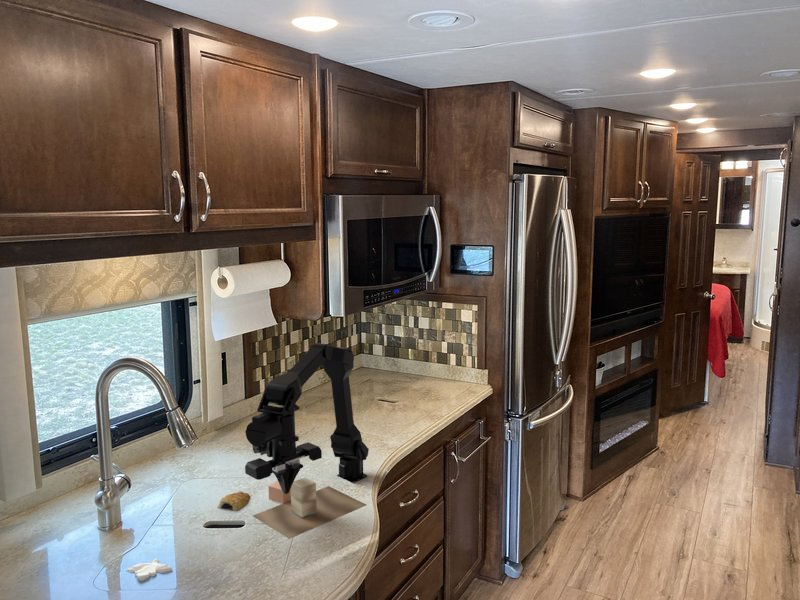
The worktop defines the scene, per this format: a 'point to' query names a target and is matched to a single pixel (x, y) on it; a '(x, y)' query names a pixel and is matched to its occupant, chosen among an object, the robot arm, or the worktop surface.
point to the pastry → (234, 501)
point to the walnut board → (328, 509)
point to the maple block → (303, 498)
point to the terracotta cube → (278, 493)
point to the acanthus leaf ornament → (149, 569)
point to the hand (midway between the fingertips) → (285, 493)
